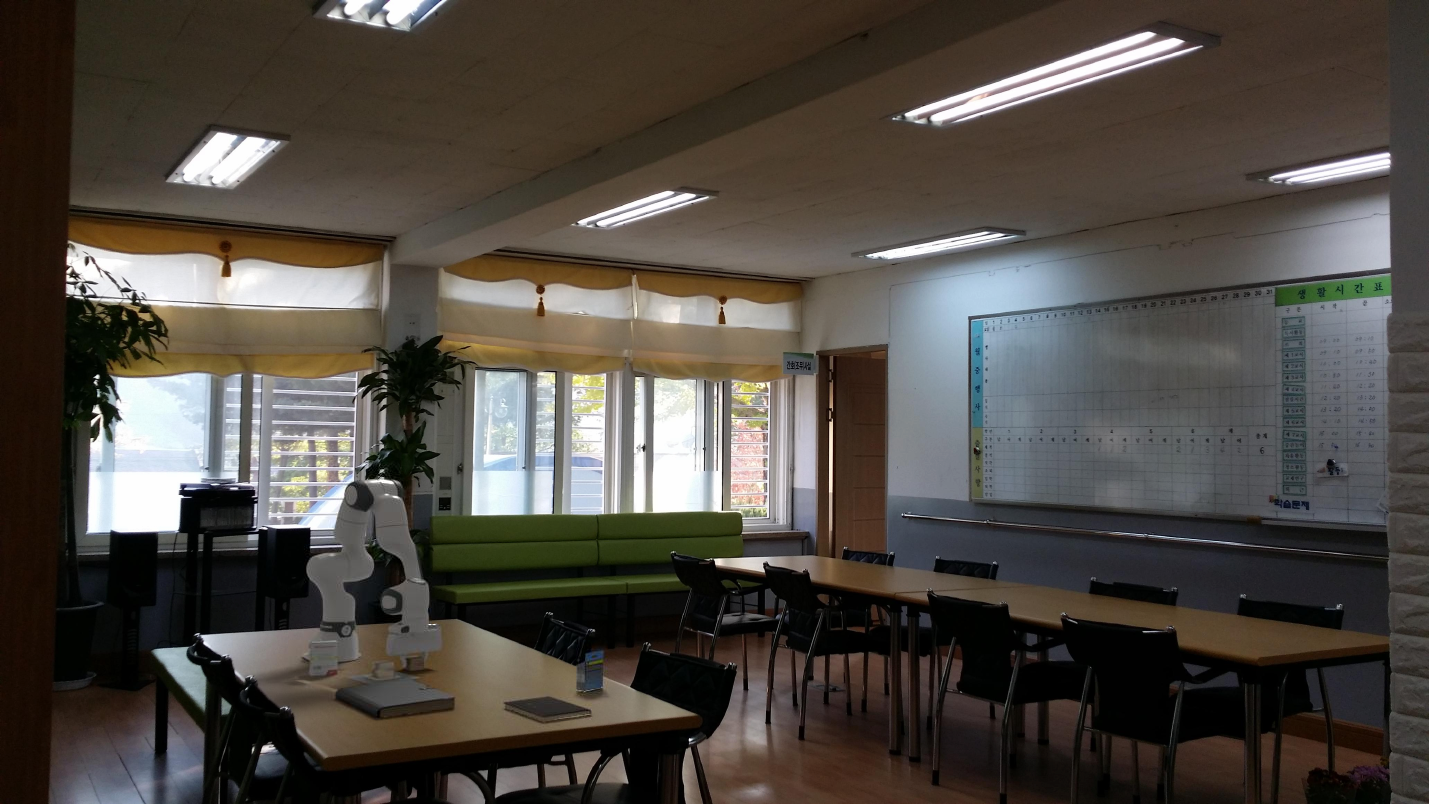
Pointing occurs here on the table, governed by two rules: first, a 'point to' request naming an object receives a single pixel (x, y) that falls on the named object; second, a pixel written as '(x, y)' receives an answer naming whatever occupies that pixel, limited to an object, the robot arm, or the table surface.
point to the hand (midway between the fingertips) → (413, 666)
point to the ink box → (323, 658)
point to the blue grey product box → (590, 672)
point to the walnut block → (415, 663)
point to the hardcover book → (546, 708)
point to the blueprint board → (370, 680)
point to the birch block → (382, 669)
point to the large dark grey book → (395, 698)
